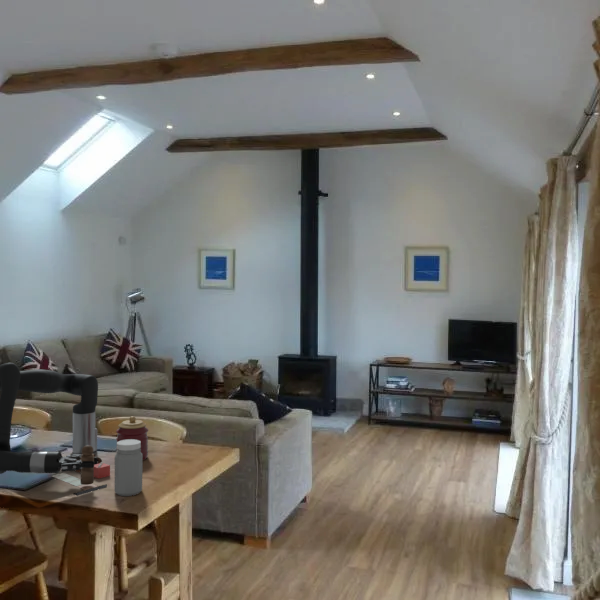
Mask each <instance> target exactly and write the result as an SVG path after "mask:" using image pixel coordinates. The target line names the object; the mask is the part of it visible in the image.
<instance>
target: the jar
mask: <svg viewBox="0 0 600 600" xmlns="http://www.w3.org/2000/svg"><path fill="white" fill-rule="evenodd" d="M140 448H141V441H139V440H135V439H126V440H121V441H118V442H117V441H116V452H117V453H115V454H114V491H113V492H114V493H115V494H116V495H118V496H121V497H133V496H136V494H137V495H138V494H140V493H141V492H142V490H143V460H142V459H143V456H142V453H141V452H140V451H141V449H140ZM117 449H118V450H117ZM132 495H133V496H132Z"/></svg>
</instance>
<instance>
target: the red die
mask: <svg viewBox="0 0 600 600" xmlns="http://www.w3.org/2000/svg"><path fill="white" fill-rule="evenodd" d="M110 476H111V464H107V463H104V462H103V461H102V462H101V463H99V464H95V465H94V479H95V478H96V479H98V480H99V479H103V478H106V477H110Z"/></svg>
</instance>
